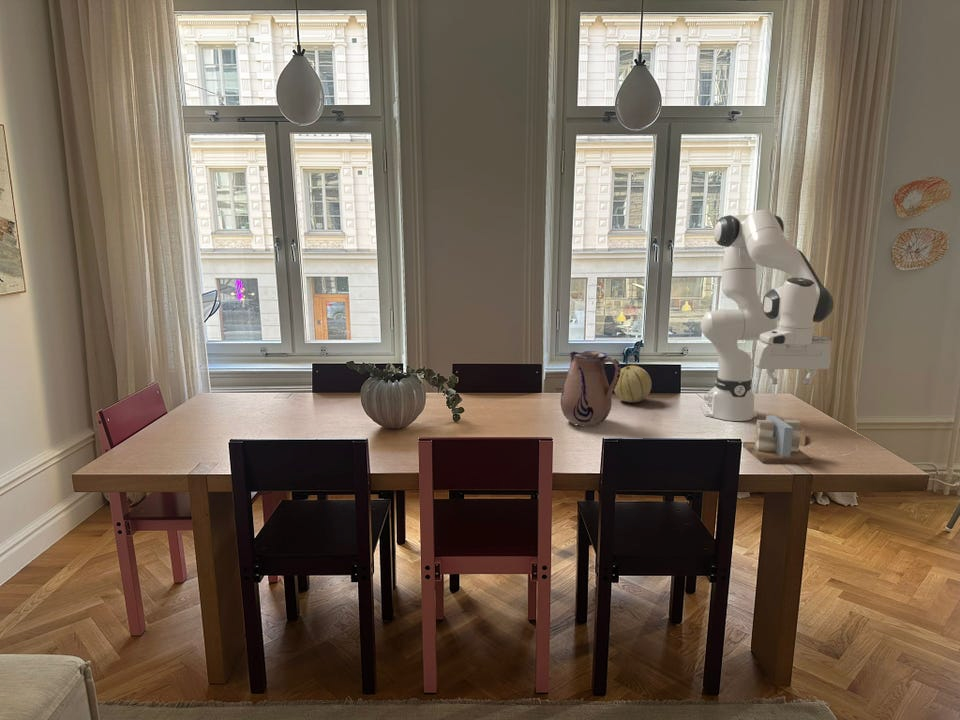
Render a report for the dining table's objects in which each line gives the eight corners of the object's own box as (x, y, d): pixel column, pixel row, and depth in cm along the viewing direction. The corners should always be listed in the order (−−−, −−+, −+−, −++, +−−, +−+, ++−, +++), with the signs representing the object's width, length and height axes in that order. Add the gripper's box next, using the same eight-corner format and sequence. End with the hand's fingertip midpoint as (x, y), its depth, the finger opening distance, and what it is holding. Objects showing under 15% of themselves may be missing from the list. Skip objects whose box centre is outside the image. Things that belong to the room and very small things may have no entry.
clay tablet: (770, 430, 207) (771, 423, 206) (803, 434, 202) (804, 427, 202) (769, 443, 194) (770, 435, 194) (805, 448, 190) (806, 440, 189)
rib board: (742, 446, 190) (745, 414, 188) (788, 446, 189) (791, 414, 187) (762, 463, 176) (765, 428, 174) (811, 463, 176) (815, 428, 174)
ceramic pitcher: (570, 413, 225) (572, 347, 220) (626, 421, 215) (630, 352, 210) (552, 426, 211) (553, 355, 206) (611, 435, 200) (614, 361, 195)
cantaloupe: (656, 401, 242) (659, 364, 239) (639, 409, 231) (641, 370, 228) (623, 395, 251) (624, 359, 248) (605, 402, 240) (606, 365, 237)
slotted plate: (763, 443, 188) (766, 415, 186) (771, 443, 188) (774, 415, 186) (781, 457, 176) (784, 427, 174) (790, 457, 176) (793, 427, 174)
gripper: (825, 334, 174) (820, 381, 177) (754, 334, 175) (749, 381, 177) (838, 338, 168) (832, 386, 171) (763, 338, 168) (759, 386, 171)
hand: (789, 383), depth 174 cm, fingers open, 8 cm apart
